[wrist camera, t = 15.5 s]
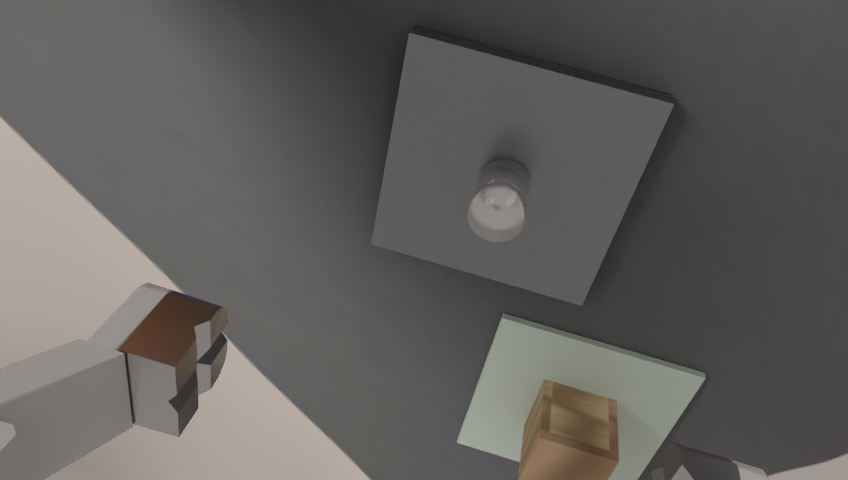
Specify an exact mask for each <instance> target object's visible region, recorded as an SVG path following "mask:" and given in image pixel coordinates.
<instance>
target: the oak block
mask: <svg viewBox="0 0 848 480" xmlns="http://www.w3.org/2000/svg"><path fill="white" fill-rule="evenodd" d="M618 463H619V450H618V423H617V401H616V400H613V399H609V398H606V397H603V396H599V395H596V394H593V393H589V392H586V391H583V390H579V389H576V388H573V387H569V386H566V385H563V384H559V383H556V382H553V381H549V380H546V379H545V380H544V382H543V384H542V386H541V388H540V391H539V393H538V395H537V397H536V400H535V402H534V404H533V406H532V409H531V411H530V413H529V415H528V417H527V420H526V422H525V424H524V431H523V440H522V449H521V457H520V466H519V475H518V480H608V479H609V477H610V476H611V474H612V472H613V471H614V469H615V468H616V466H617V464H618Z"/></svg>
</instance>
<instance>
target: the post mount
mask: <svg viewBox="0 0 848 480" xmlns="http://www.w3.org/2000/svg"><path fill="white" fill-rule="evenodd" d="M673 106H674V101H673V97H672V95H671V94H668V93H664V92H660V91H656V90H653V89H649V88H645V87H642V86H638V85H634V84H630V83H627V82H623V81H619V80H616V79H612V78H608V77H604V76H601V75H597V74H593V73H590V72H586V71H582V70H578V69H575V68H571V67H567V66H563V65H560V64H556V63H552V62H549V61H545V60H541V59H537V58H534V57H530V56H526V55H523V54H519V53H515V52H511V51H508V50H504V49H500V48H497V47H493V46H489V45H485V44H482V43H478V42H474V41H470V40H467V39H463V38H459V37H456V36H452V35H448V34H444V33H441V32H437V31H433V30H430V29H426V28H422V27H418V26H414V27H413V28H412V30H411V31H410V32H409V36H408V41H407V47H406V52H405V58H404V63H403V69H402V74H401V80H400V85H399V91H398V97H397V102H396V108H395V113H394V119H393V124H392V130H391V135H390V141H389V146H388V152H387V158H386V163H385V169H384V174H383V180H382V185H381V191H380V196H379V202H378V207H377V213H376V219H375V224H374V230H373V235H372V241H371V244H372V245H375V246H379V247H382V248H385V249H389V250H392V251H396V252H399V253H402V254H406V255H409V256H413V257H416V258H420V259H423V260H426V261H430V262H433V263H437V264H440V265H443V266H447V267H450V268H454V269H457V270H460V271H464V272H467V273H471V274H474V275H477V276H481V277H484V278H488V279H491V280H495V281H498V282H501V283H505V284H508V285H512V286H515V287H518V288H522V289H525V290H529V291H532V292H535V293H539V294H542V295H546V296H549V297H552V298H556V299H559V300H563V301H566V302H570V303H573V304H576V305H580V306H582V305H583V303H584V301H585V298H586V296H587V294H588V292H589V290H590V287H591V285H592V283H593V281H594V279H595V276H596V274H597V272H598V270H599V268H600V266H601V263H602V261H603V259H604V257H605V255H606V252H607V250H608V248H609V246H610V244H611V242H612V239H613V237H614V235H615V233H616V231H617V228H618V226H619V224H620V222H621V220H622V218H623V215H624V213H625V211H626V209H627V207H628V204H629V202H630V200H631V198H632V196H633V194H634V191H635V189H636V187H637V185H638V183H639V180H640V178H641V176H642V174H643V172H644V170H645V167H646V165H647V163H648V161H649V159H650V156H651V154H652V152H653V150H654V148H655V146H656V143H657V141H658V139H659V137H660V135H661V132H662V130H663V128H664V126H665V124H666V122H667V119H668V117H669V115H670V113H671V111H672V108H673Z"/></svg>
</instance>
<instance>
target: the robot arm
mask: <svg viewBox="0 0 848 480" xmlns="http://www.w3.org/2000/svg"><path fill="white" fill-rule="evenodd" d="M227 323H228V320H227V309H225V308H224V307H222V306H218V305H215V304H212V303H209V302H206V301H203V300H200V299H197V298H194V297H191V296H188V295H185V294H182V293H179V292H176V291H172V290H169V289H166V288H163V287H160V286H157V285H153V284H151V283H146V284H143V285H141V286H140V287H138V288H137V289H136V290H135V292H133V293H132V294H131V295H130V297H129V298H128V299H127V300H126V301H125V302H124V303H123V304H122V305H121V306H120V307H119V308H118V309H117V310H116V311H115V312H114V313H113V314H112V316H111V317H110V318H109V319H108V320H107V321H106V322H105V323H104V324H103V325H102V326H101V327H100V328H99V329H98V330H97V331H96V332H95V333H94V335H93V336H92V337H91V338H90V339H89V340H88V341H84V340H80V339H78V340H75V341H73V342H70V343H67V344H65V345H62V346H59V347H57V348H54V349H51V350H49V351H46V352H43V353H40V354H38V355H35V356H32V357H30V358H27V359H24V360H22V361H19V362H16V363H14V364H11V365H8V366H6V367H3V368H0V480H44V479H46V478H47V477H49V476H51V475H53V474H54V473H56V472H58V471H59V470H61V469H63V468H64V467H66V466H68V465H69V464H71V463H73V462H75V461H76V460H78V459H80V458H81V457H83V456H85V455H86V454H88V453H90V452H91V451H93V450H95V449H96V448H98V447H100V446H101V445H103V444H104V443H106V442H108V441H110V440H111V439H113V438H115V437H116V436H118V435H120V434H122V433H123V432H125V431H127V430H128V429H130V428H132V427H133V424H135V425H139V426H142V427H146V428H150V429H153V430H156V431H160V432H163V433H167V434H170V435H174V436H177V437H179V436H180V435H181V433H182V432H183V430H184V429H185V427H186V425H187V424H188V423H189V421H190V420H191V418H192V417H193V415H194V414H195V412H196V411H197V409H198V395H199V394H201V393H204V392H206V391H208V390H210V389H211V388H212V386H213V384H214V383H215V381H216V380H217V378H218V376H219V374H220V372H221V369H222V367H223V364H224V362H225V357H226V352H227V339H226V338H225V336H224V335H223V334H222V330H223V329H224V327H225V326H226V325H227ZM662 461H663V467H660V468H657V469H655V470H652V471H651V472H650V474H649V476H648V477H647V479H646V480H768V476H767V475H766V473H765V472H764V470H763V469H760V468H756V467H753V466H750V465H746V464H743V463H740V462H736V461H731V460H729V459H727V458H723V457H720V456H716V455H713V454H710V453H706V452H703V451H699V450H696V449H692V448H689V447H686V446H682V445H679V444H675V443H674V444H672V445H670V446H668V448H667V449H666V450H665V452H664V453H663V455H662Z"/></svg>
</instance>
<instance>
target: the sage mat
mask: <svg viewBox="0 0 848 480" xmlns="http://www.w3.org/2000/svg"><path fill="white" fill-rule="evenodd" d="M545 379H546V380H549V381H553V382H556V383H559V384H563V385H566V386H569V387H573V388H576V389H579V390H583V391H586V392H589V393H593V394H596V395H599V396H603V397H606V398H609V399H613V400H616V401H617V423H618V450H619V463H618V464H617V466H616V468H615V469H614V471H613V472H612V474H611V476H610V477H609V479H608V480H638V478H639V477H640V475H641V474H642V472H643V471H644V469H645V468H646V466H647V465H648V463H649V462H650V460H651V459H652V457H653V456H654V454H655V453H656V451H657V450H658V449H659V447H660V446H661V444H662V443H663V441H664V440H665V438H666V437H667V435H668V434H669V432H670V431H671V429H672V428H673V426H674V425H675V423H676V422H677V420H678V419H679V417H680V416H681V414H682V413H683V411H684V410H685V408H686V407H687V405H688V404H689V403H690V401H691V400H692V398H693V397H694V395H695V394H696V392H697V391H698V389H699V388H700V386H701V385H702V383H703V382H704V380H705V379H706V377H705V373H704V372H700V371H697V370H694V369H690V368H687V367H684V366H680V365H677V364H673V363H670V362H667V361H663V360H660V359H657V358H653V357H650V356H646V355H643V354H640V353H636V352H633V351H630V350H626V349H623V348H619V347H616V346H613V345H609V344H606V343H603V342H599V341H596V340H592V339H589V338H586V337H582V336H579V335H576V334H572V333H569V332H565V331H562V330H559V329H555V328H552V327H549V326H545V325H542V324H538V323H535V322H532V321H528V320H525V319H522V318H518V317H515V316H511V315H508V314H505V313H503V314H502V317H501V320H500V323H499V325H498V328H497V331H496V334H495V336H494V339H493V342H492V345H491V347H490V350H489V353H488V356H487V358H486V361H485V364H484V367H483V369H482V372H481V375H480V378H479V380H478V383H477V386H476V389H475V391H474V394H473V397H472V400H471V403H470V405H469V408H468V411H467V414H466V416H465V419H464V422H463V425H462V427H461V430H460V433H459V436H458V439H457V443H460V444H463V445H466V446H469V447H473V448H476V449H479V450H482V451H485V452H489V453H492V454H495V455H498V456H501V457H505V458H508V459H511V460H514V461H518V462H520V457H521V449H522V440H523V431H524V424H525V422H526V420H527V417H528V415H529V413H530V411H531V409H532V406H533V404H534V402H535V400H536V397H537V395H538V393H539V391H540V388H541V386H542V384H543V382H544V380H545Z"/></svg>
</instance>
